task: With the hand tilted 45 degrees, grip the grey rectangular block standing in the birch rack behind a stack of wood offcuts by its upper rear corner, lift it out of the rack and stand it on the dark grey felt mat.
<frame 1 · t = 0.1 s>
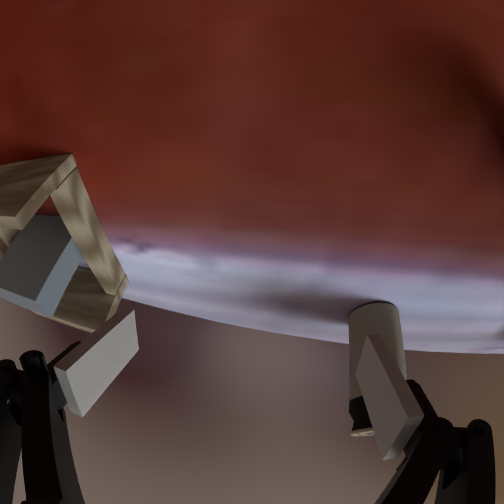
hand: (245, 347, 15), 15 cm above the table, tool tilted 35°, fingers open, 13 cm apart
rack: (60, 225, 33), on the table
offcut 3: (4, 241, 32), point 4 cm above the table, touching offcut 2
travel mug: (373, 313, 39), on the table
grey rectangular block: (60, 224, 33), resting in rack
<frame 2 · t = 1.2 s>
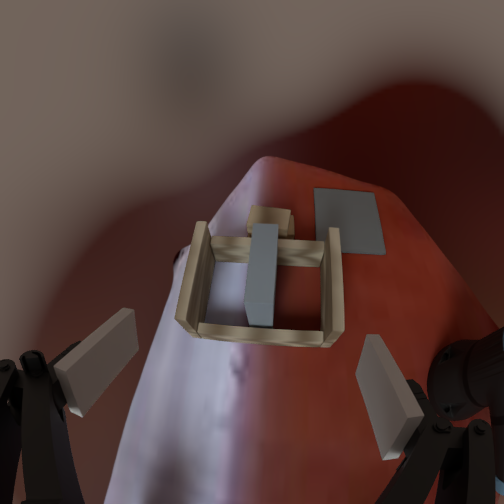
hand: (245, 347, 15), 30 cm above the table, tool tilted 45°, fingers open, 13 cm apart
rack: (264, 297, 48), on the table
offcut 3: (269, 225, 51), point 4 cm above the table, touching offcut 2
mat: (348, 219, 56), on the table
offcut 2: (271, 232, 53), point 2 cm above the table, touching offcut 1, offcut 3
grey rectangular block: (264, 298, 48), resting in rack
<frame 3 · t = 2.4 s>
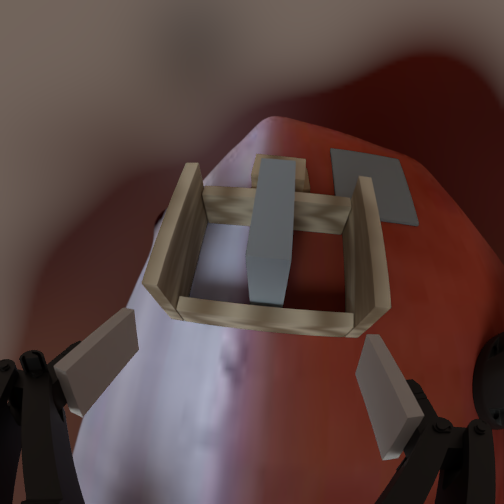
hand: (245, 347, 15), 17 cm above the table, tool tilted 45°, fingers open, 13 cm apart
rack: (270, 269, 36), on the table
offcut 3: (278, 178, 39), point 4 cm above the table, touching offcut 2
mat: (372, 184, 44), on the table
grey rectangular block: (270, 269, 36), resting in rack
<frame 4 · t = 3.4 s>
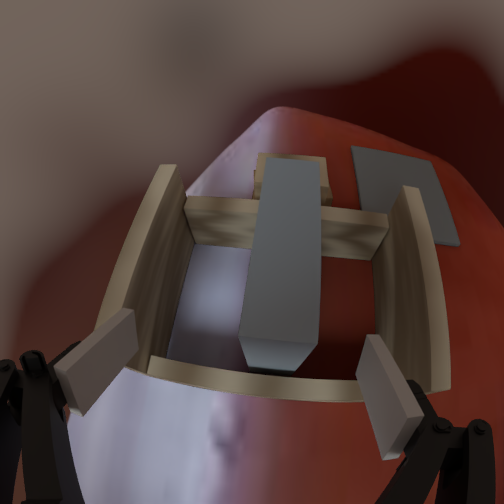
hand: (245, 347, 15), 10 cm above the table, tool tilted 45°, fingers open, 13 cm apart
rack: (277, 311, 26), on the table
offcut 3: (290, 185, 29), point 4 cm above the table, touching offcut 2
mat: (403, 192, 34), on the table
grey rectangular block: (277, 311, 26), resting in rack
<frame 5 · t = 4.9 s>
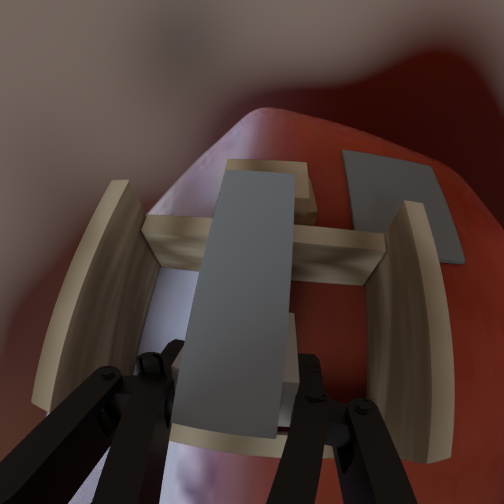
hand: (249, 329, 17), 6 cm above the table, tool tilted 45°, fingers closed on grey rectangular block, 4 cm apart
rack: (252, 349, 22), on the table
offcut 3: (265, 196, 25), point 4 cm above the table, touching offcut 2
mat: (402, 202, 30), on the table
offcut 2: (269, 211, 27), point 2 cm above the table, touching offcut 1, offcut 3
grey rectangular block: (252, 348, 22), resting in rack, touching gripper
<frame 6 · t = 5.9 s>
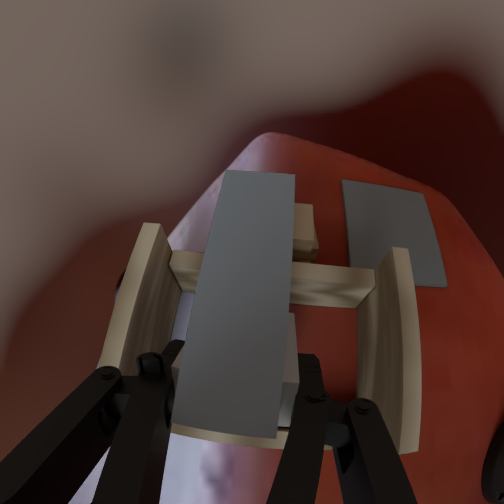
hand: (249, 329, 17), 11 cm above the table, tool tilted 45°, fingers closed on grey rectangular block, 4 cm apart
rack: (263, 362, 26), on the table
offcut 3: (275, 233, 29), point 4 cm above the table
mat: (393, 230, 35), on the table
offcut 2: (276, 245, 31), point 2 cm above the table, touching offcut 1
grey rectangular block: (252, 348, 22), point 5 cm above the table, touching gripper
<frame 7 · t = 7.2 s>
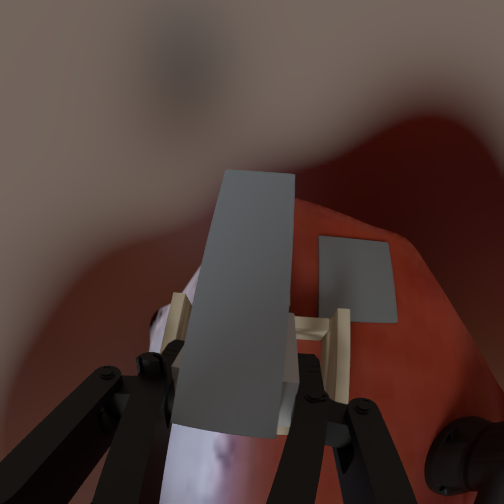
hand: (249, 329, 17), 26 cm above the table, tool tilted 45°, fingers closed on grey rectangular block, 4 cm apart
rack: (254, 377, 39), on the table
mat: (357, 278, 47), on the table
grey rectangular block: (252, 348, 22), point 20 cm above the table, touching gripper
when the fingers open (8 cm above the table, at t = 12.5 s): grey rectangular block stays where it is, resting on mat.
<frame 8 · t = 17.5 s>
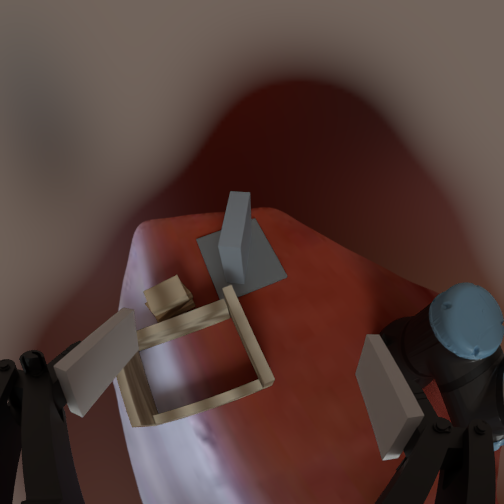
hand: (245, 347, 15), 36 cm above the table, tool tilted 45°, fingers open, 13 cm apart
rack: (195, 367, 47), on the table
offcut 3: (167, 298, 50), point 4 cm above the table, touching offcut 2
mat: (239, 258, 59), on the table
offcut 1: (174, 307, 54), on the table, touching offcut 2
offcut 2: (170, 303, 52), point 2 cm above the table, touching offcut 1, offcut 3
grey rectangular block: (239, 257, 59), point 1 cm above the table, touching mat
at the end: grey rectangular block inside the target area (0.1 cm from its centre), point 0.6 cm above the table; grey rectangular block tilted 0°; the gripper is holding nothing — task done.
